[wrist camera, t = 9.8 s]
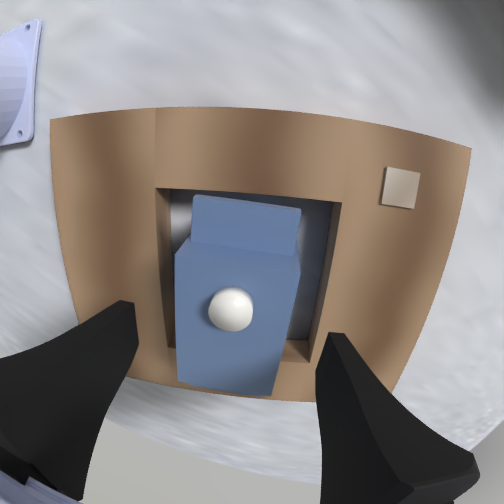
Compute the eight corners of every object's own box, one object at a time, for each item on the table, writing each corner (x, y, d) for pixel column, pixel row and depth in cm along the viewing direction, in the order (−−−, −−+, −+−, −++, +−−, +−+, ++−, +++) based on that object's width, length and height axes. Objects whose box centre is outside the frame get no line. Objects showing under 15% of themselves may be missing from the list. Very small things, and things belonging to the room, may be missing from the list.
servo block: (204, 326, 18) (176, 412, 12) (215, 172, 14) (169, 212, 8) (270, 336, 18) (264, 426, 12) (298, 183, 14) (312, 232, 8)
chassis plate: (104, 350, 20) (92, 369, 18) (72, 117, 14) (48, 119, 12) (381, 380, 19) (387, 402, 17) (451, 143, 13) (473, 148, 11)
